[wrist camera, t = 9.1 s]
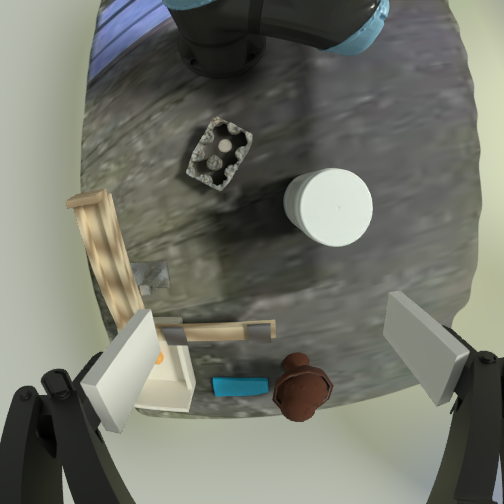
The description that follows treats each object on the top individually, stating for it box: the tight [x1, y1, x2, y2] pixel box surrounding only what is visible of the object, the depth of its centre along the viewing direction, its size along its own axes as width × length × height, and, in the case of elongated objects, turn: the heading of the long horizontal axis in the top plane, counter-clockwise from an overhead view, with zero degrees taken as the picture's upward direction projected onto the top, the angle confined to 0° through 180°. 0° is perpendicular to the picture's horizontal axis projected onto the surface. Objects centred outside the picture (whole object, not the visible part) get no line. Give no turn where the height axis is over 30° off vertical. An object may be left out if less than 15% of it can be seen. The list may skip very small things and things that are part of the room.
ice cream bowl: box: [272, 353, 333, 422], centre depth 45 cm, size 11×11×15 cm
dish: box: [117, 317, 196, 412], centre depth 47 cm, size 17×13×9 cm
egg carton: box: [186, 116, 253, 191], centre depth 41 cm, size 11×8×4 cm
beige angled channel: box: [65, 189, 276, 346], centre depth 37 cm, size 28×26×4 cm
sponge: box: [213, 377, 269, 397], centre depth 54 cm, size 2×12×6 cm
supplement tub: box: [283, 168, 372, 247], centre depth 38 cm, size 10×10×15 cm
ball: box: [155, 352, 164, 364], centre depth 50 cm, size 3×3×3 cm
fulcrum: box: [101, 260, 171, 296], centre depth 44 cm, size 5×11×8 cm, turn 94°
